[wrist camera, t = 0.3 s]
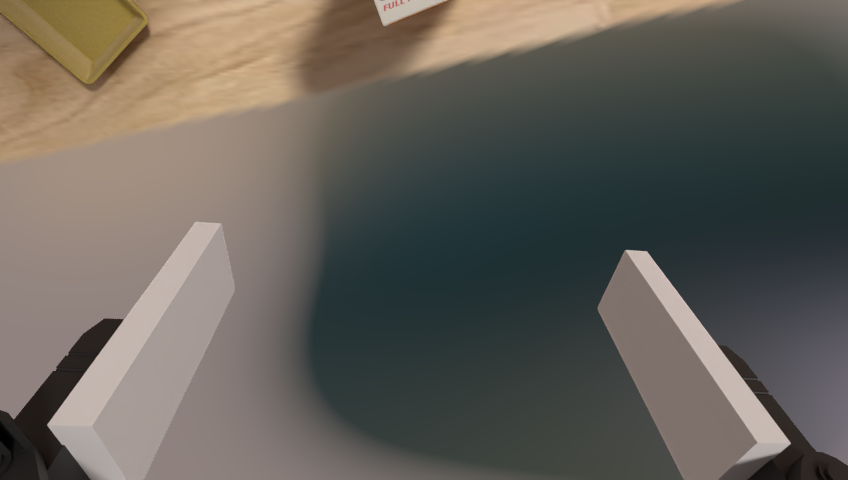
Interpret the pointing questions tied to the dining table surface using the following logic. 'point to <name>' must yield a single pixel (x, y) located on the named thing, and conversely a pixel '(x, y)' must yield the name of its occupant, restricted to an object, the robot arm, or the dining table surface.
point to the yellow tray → (78, 30)
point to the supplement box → (402, 9)
